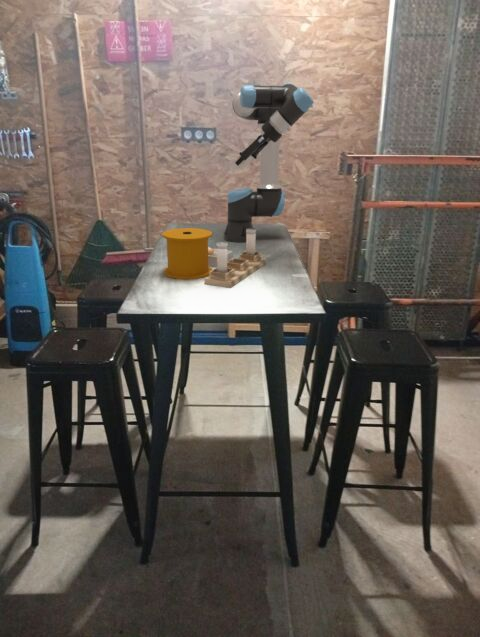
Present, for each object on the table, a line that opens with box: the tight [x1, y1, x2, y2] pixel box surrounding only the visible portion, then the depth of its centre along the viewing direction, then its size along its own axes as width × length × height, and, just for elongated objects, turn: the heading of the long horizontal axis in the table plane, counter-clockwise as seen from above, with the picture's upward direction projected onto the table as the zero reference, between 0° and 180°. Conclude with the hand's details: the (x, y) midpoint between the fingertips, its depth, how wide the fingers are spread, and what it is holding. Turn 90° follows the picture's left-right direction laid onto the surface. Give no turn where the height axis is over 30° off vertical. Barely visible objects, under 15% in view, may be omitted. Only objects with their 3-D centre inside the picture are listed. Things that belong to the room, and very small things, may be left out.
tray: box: [208, 248, 234, 268], centre depth 193 cm, size 11×11×4 cm
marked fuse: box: [208, 246, 217, 256], centre depth 191 cm, size 4×4×12 cm
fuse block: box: [204, 250, 267, 288], centre depth 180 cm, size 34×10×4 cm, turn 156°
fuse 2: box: [245, 227, 257, 256], centre depth 189 cm, size 4×4×12 cm
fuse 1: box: [216, 241, 229, 273], centre depth 167 cm, size 4×4×12 cm
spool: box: [161, 227, 213, 280], centre depth 178 cm, size 18×18×15 cm
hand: (235, 169), depth 184 cm, fingers open, 13 cm apart
